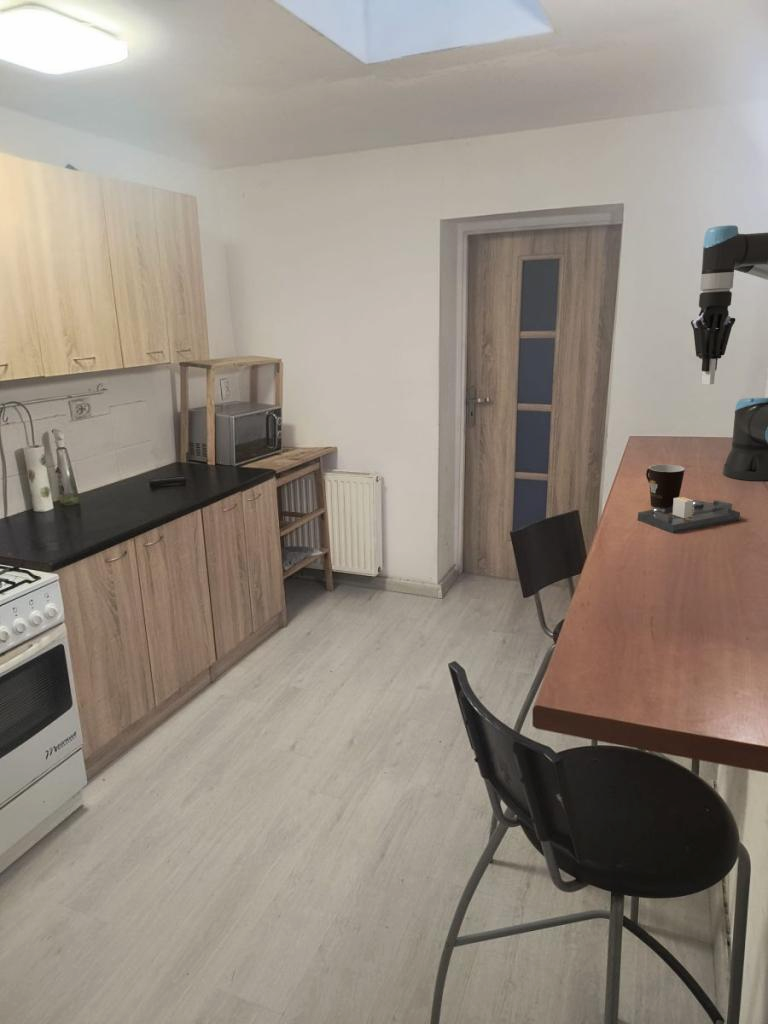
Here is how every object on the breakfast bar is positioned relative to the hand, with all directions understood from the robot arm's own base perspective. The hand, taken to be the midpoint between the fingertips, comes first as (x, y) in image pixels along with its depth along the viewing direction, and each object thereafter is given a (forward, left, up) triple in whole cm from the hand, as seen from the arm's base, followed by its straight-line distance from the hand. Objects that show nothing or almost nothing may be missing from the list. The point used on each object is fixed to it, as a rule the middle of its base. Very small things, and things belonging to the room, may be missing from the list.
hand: (707, 383), depth 178 cm
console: (+23, +20, -29) cm, 42 cm away
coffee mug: (+18, +6, -30) cm, 35 cm away
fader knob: (+26, +21, -27) cm, 44 cm away
